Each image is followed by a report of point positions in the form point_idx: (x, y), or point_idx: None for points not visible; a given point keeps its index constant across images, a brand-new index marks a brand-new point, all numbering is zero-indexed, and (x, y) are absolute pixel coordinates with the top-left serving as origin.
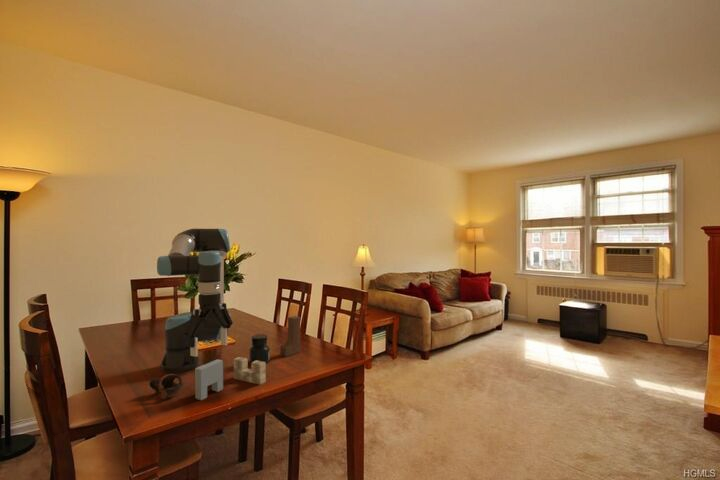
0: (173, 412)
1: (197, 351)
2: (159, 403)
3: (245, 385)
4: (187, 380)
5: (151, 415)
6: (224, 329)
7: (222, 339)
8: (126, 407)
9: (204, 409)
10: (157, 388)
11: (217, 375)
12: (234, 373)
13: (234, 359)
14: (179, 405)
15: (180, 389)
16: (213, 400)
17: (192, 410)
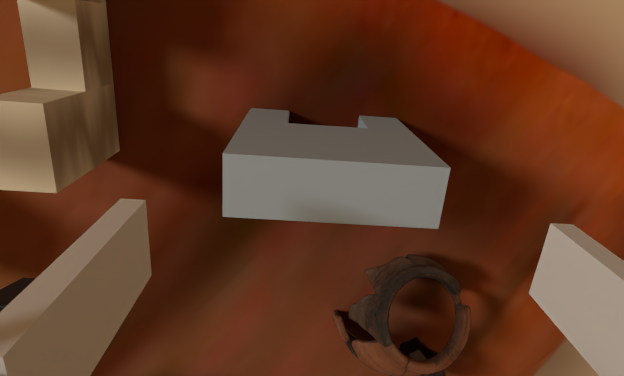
0: (530, 145)
1: (586, 248)
2: (473, 264)
3: (154, 14)
4: (252, 333)
5: (570, 209)
6: (22, 374)
7: (121, 289)
8: (530, 342)
9: (473, 24)
10: (421, 349)
11: (288, 131)
12: (106, 153)
13: (57, 184)
14: (468, 173)
15: (395, 258)
16: (377, 55)
17: (496, 76)
